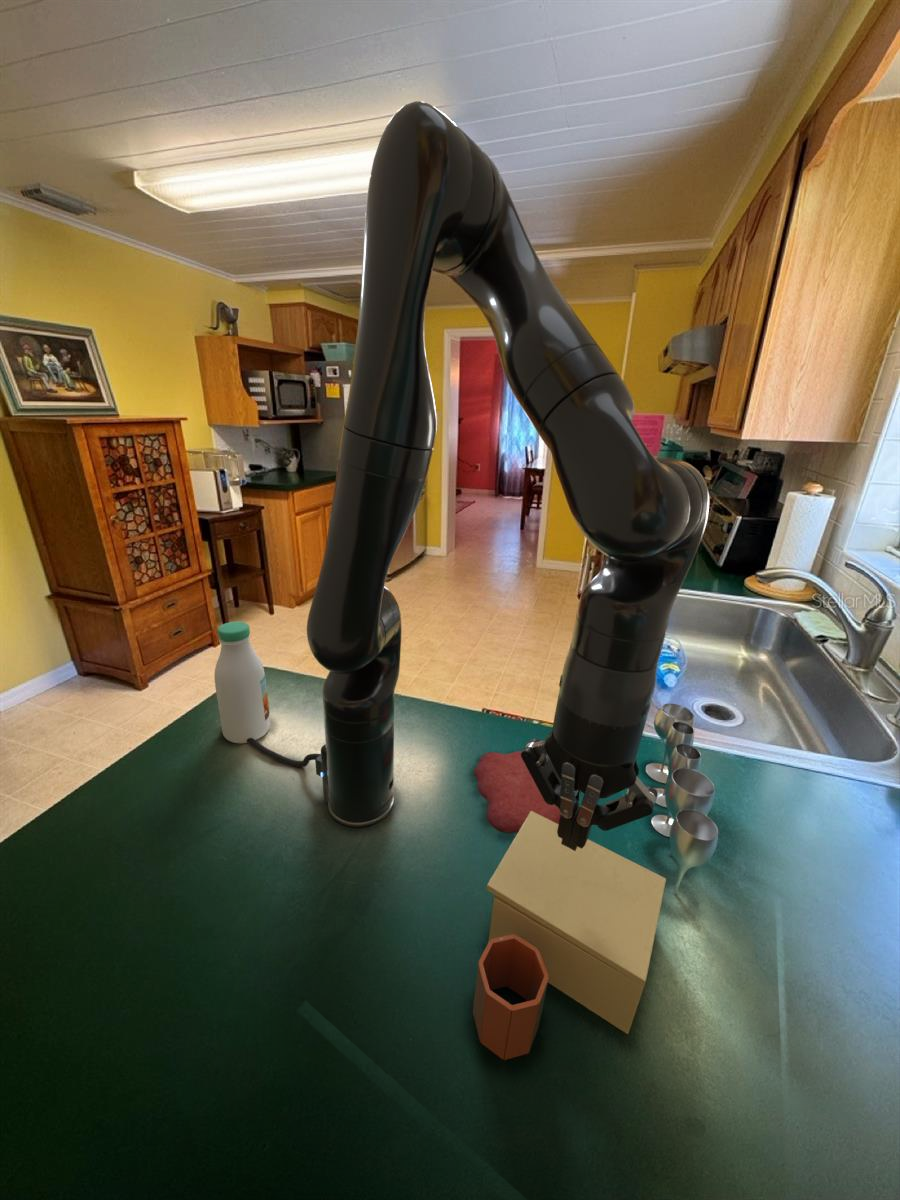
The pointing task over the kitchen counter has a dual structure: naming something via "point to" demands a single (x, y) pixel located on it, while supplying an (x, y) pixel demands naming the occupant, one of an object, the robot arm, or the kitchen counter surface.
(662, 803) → the goblet set
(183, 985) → the kitchen counter surface
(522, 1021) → the cup
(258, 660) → the milk bottle
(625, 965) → the wooden box lid
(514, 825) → the red lobed pad
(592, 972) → the wooden box base
